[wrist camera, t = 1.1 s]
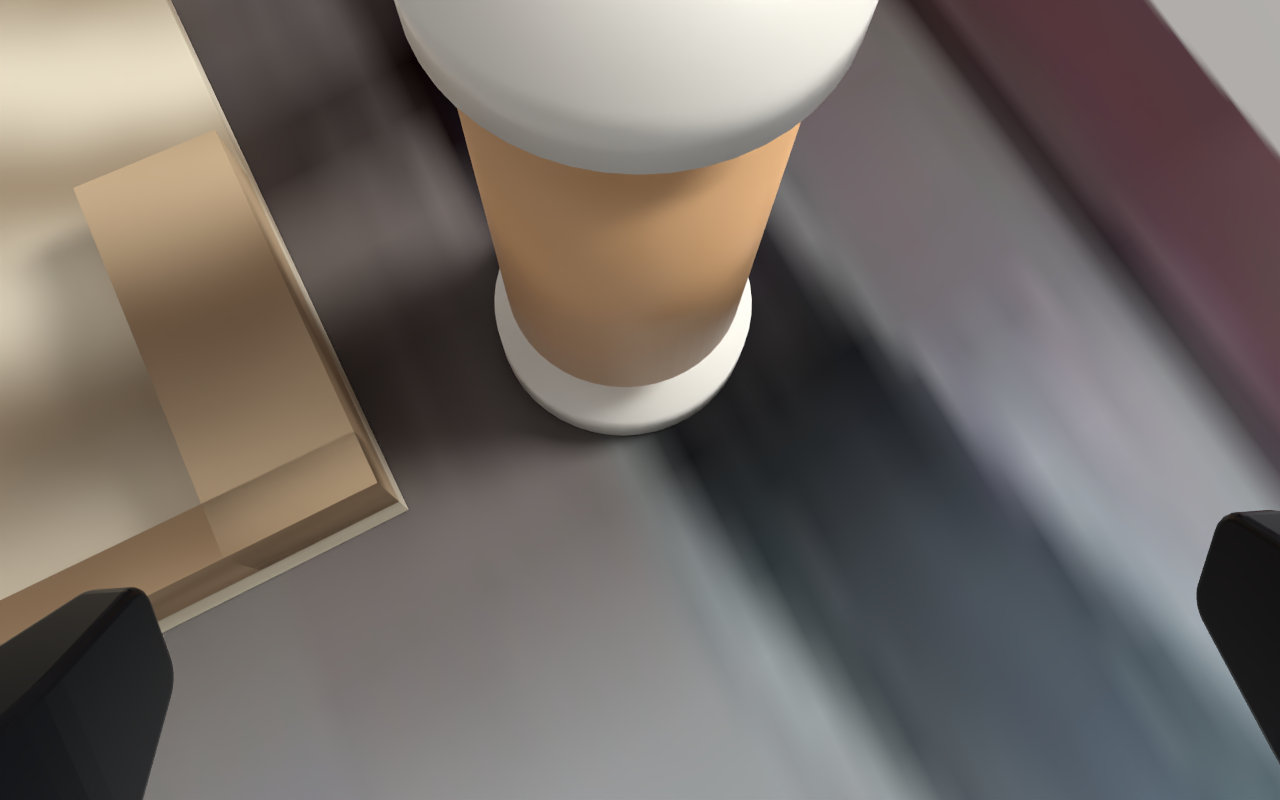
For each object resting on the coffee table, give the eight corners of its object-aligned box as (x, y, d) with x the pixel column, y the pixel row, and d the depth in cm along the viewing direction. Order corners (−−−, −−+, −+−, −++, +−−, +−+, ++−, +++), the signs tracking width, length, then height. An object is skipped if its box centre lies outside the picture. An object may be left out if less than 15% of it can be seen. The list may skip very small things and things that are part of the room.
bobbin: (647, 485, 22) (696, 218, 9) (449, 338, 23) (254, -84, 10) (791, 297, 23) (999, -148, 11) (600, 166, 24) (590, -383, 12)
